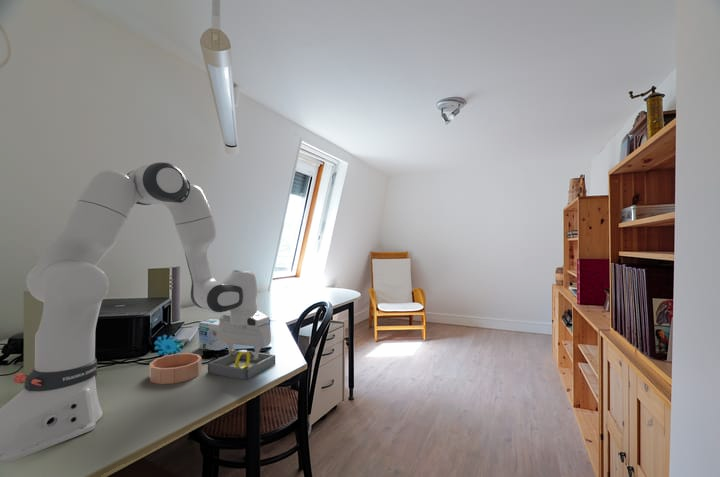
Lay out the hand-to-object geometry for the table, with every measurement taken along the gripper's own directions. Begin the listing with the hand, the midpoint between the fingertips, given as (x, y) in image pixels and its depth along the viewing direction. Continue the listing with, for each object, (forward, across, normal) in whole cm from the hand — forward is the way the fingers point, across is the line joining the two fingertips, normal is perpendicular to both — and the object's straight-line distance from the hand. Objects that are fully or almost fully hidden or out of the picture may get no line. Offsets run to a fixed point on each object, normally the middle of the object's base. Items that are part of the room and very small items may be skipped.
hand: (243, 357), depth 121 cm
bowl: (+3, -16, -13) cm, 21 cm away
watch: (+4, 0, 0) cm, 4 cm away
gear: (+4, -33, -1) cm, 34 cm away
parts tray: (+4, 0, 0) cm, 4 cm away
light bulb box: (+4, -25, +13) cm, 28 cm away
